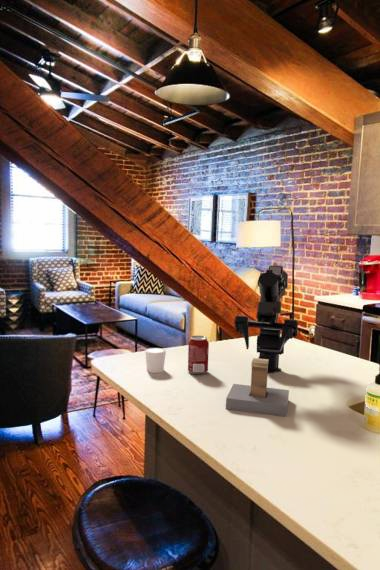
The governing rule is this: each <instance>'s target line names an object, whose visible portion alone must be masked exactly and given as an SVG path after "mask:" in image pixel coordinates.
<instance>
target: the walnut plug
mask: <svg viewBox="0 0 380 570" xmlns="http://www.w3.org/2000/svg"><path fill="white" fill-rule="evenodd" d="M258 358H259V357H256V358H255V357H253V358H252V360H251V374H250V375H251V376H250V378H251V379H250V386H251V395H250V396H254V397H262V398H266V392H267V388H268V374H269V373H268V361H269V359H258Z"/></svg>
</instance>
